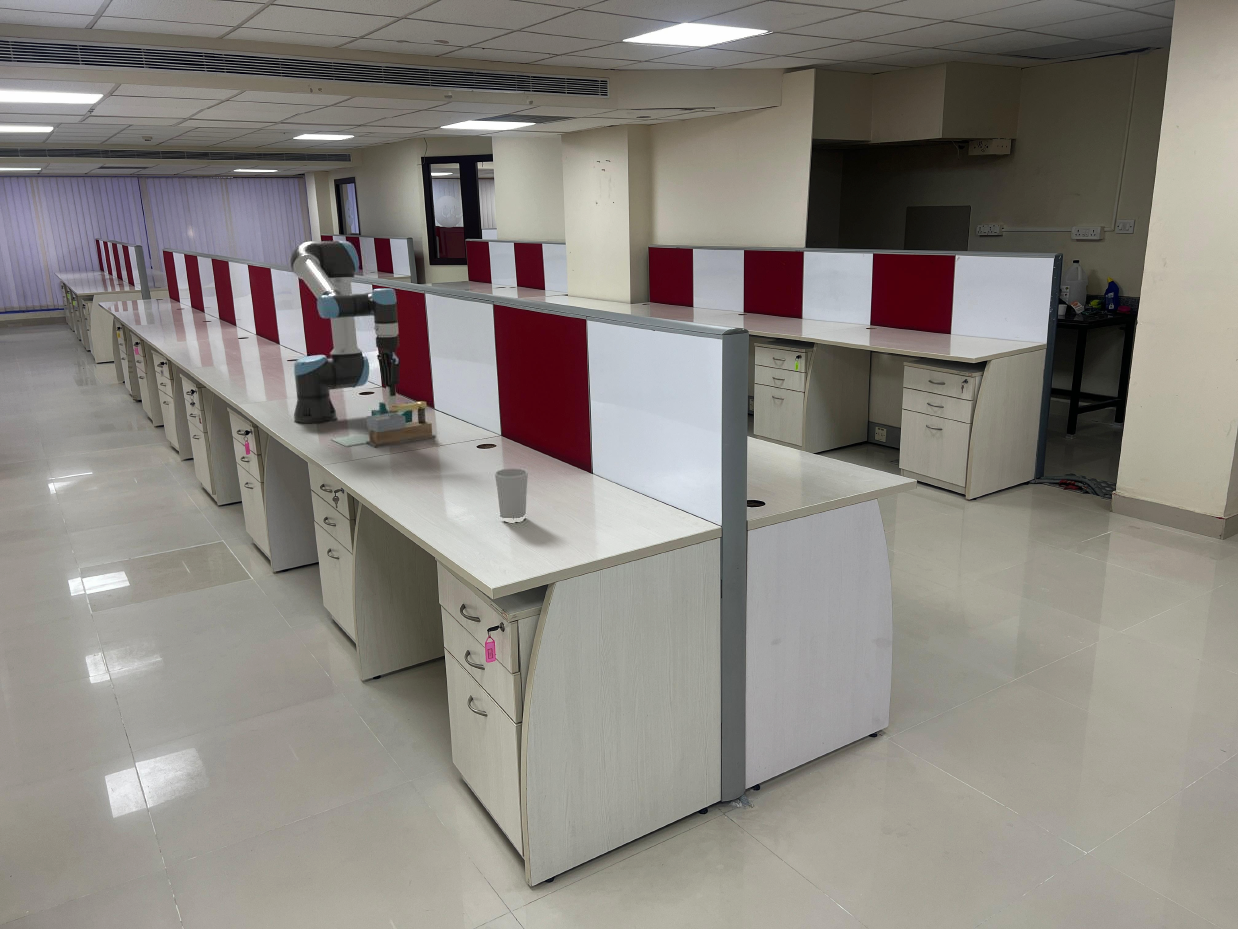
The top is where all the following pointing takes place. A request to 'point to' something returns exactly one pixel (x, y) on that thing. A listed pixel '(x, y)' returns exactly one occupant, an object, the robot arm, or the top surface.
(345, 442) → the mat
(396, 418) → the gray rectangular block
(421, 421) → the plane body
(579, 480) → the top surface
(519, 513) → the cup
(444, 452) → the top surface
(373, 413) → the teal notched cradle
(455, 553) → the top surface
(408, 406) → the lever
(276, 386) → the top surface
